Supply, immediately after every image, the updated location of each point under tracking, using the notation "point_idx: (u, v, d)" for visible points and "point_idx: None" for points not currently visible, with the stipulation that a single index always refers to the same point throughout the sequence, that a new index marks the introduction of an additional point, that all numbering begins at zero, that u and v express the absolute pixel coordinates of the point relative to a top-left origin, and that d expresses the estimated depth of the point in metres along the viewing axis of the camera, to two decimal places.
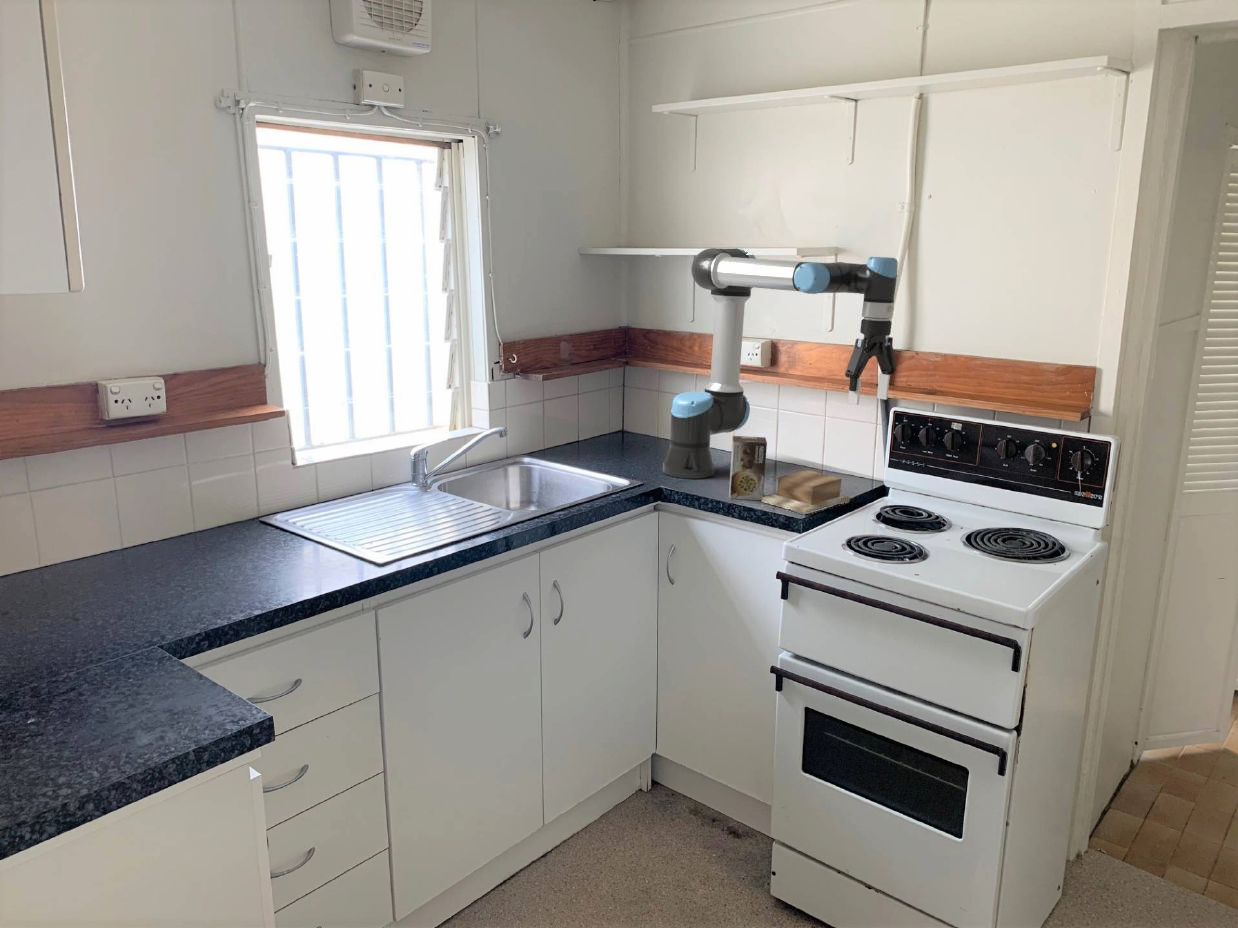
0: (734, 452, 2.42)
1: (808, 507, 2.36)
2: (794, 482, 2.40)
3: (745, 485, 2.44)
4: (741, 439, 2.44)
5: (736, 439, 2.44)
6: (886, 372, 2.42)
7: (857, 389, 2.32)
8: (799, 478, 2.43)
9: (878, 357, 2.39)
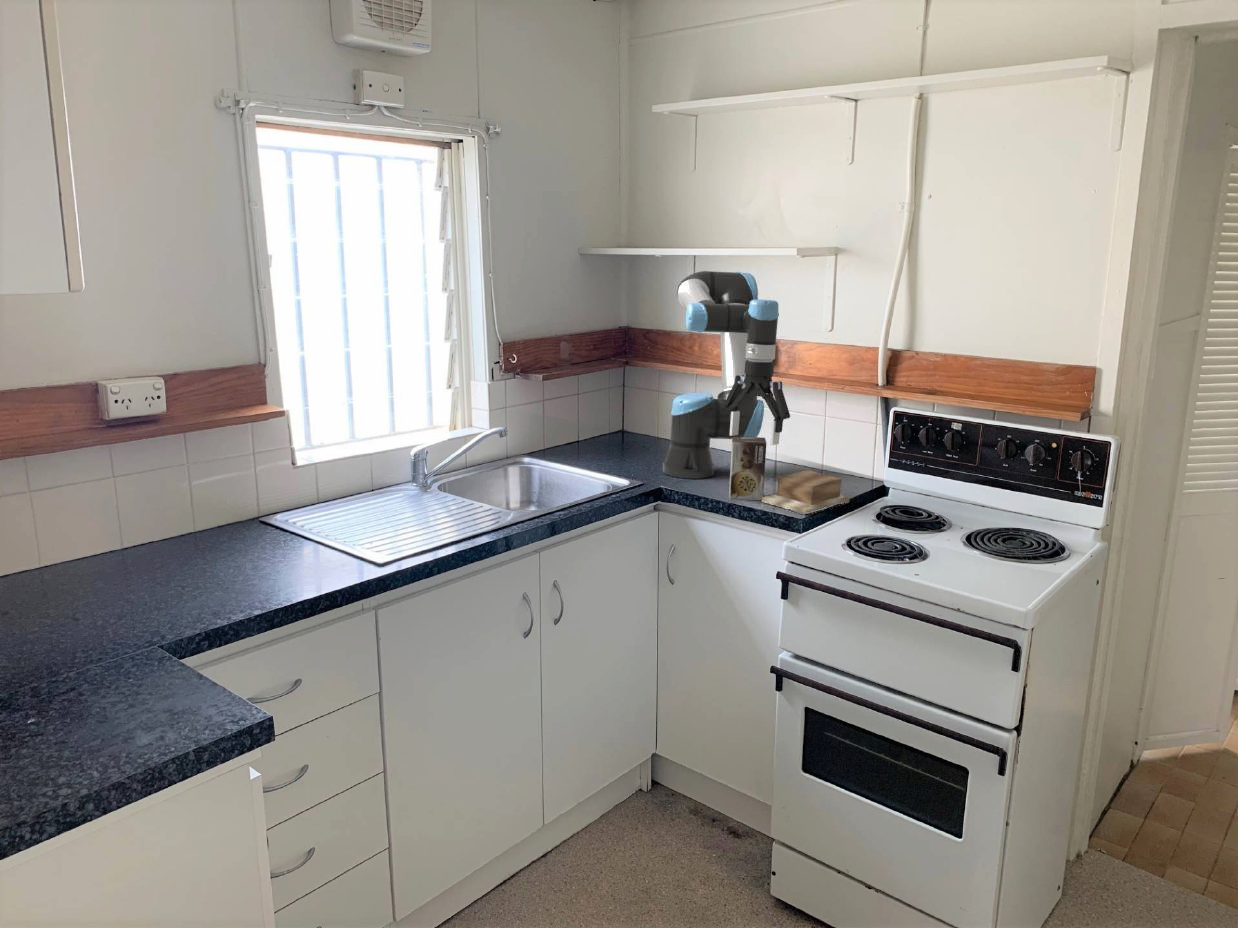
0: (734, 452, 2.43)
1: (808, 507, 2.36)
2: (794, 482, 2.40)
3: (745, 486, 2.44)
4: (741, 439, 2.44)
5: (736, 439, 2.44)
6: None
7: None
8: (799, 478, 2.43)
9: None
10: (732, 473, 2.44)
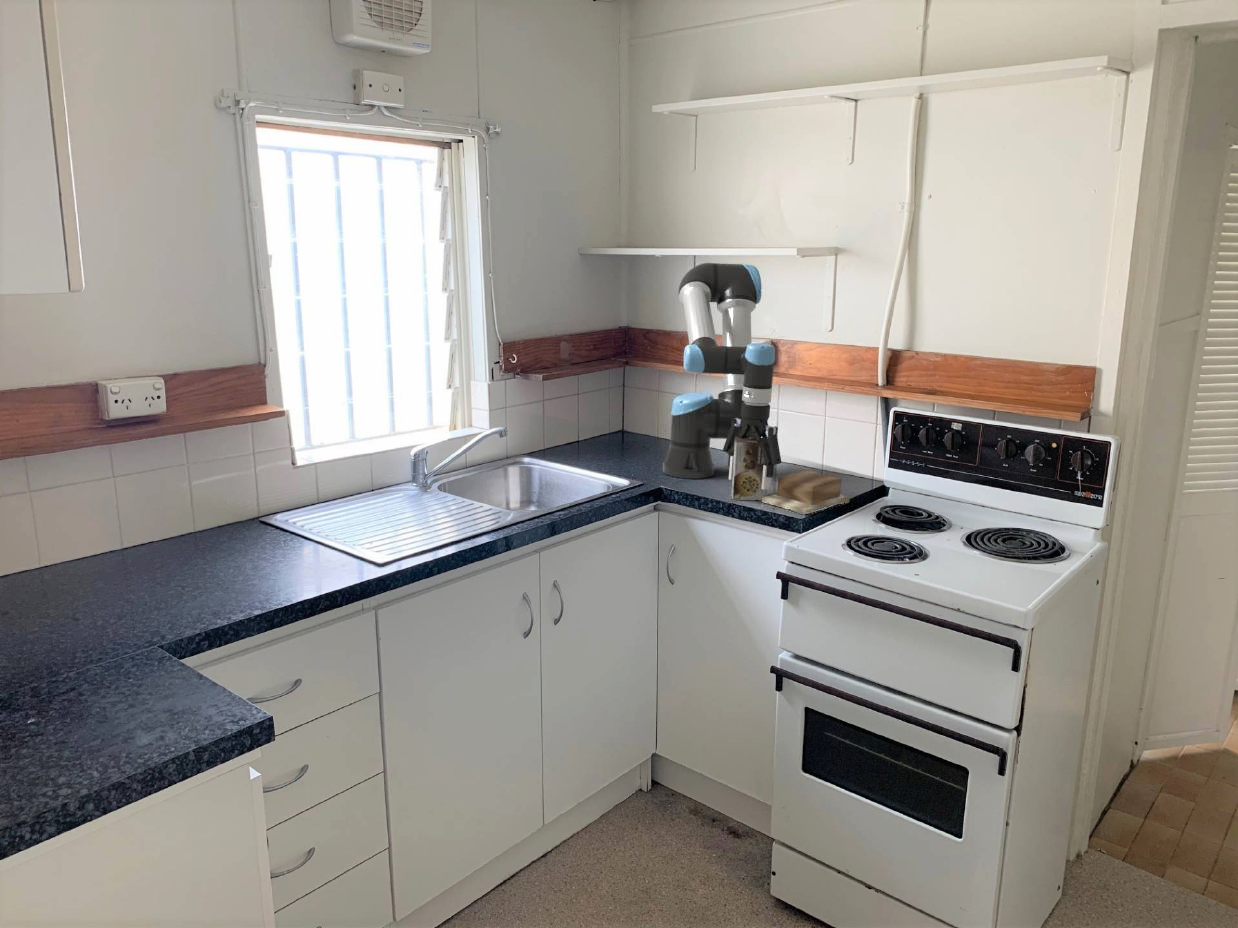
0: (737, 453, 2.42)
1: (808, 507, 2.36)
2: (794, 482, 2.40)
3: (748, 486, 2.44)
4: (744, 440, 2.43)
5: (739, 440, 2.43)
6: None
7: None
8: (799, 478, 2.43)
9: None
10: (735, 473, 2.43)
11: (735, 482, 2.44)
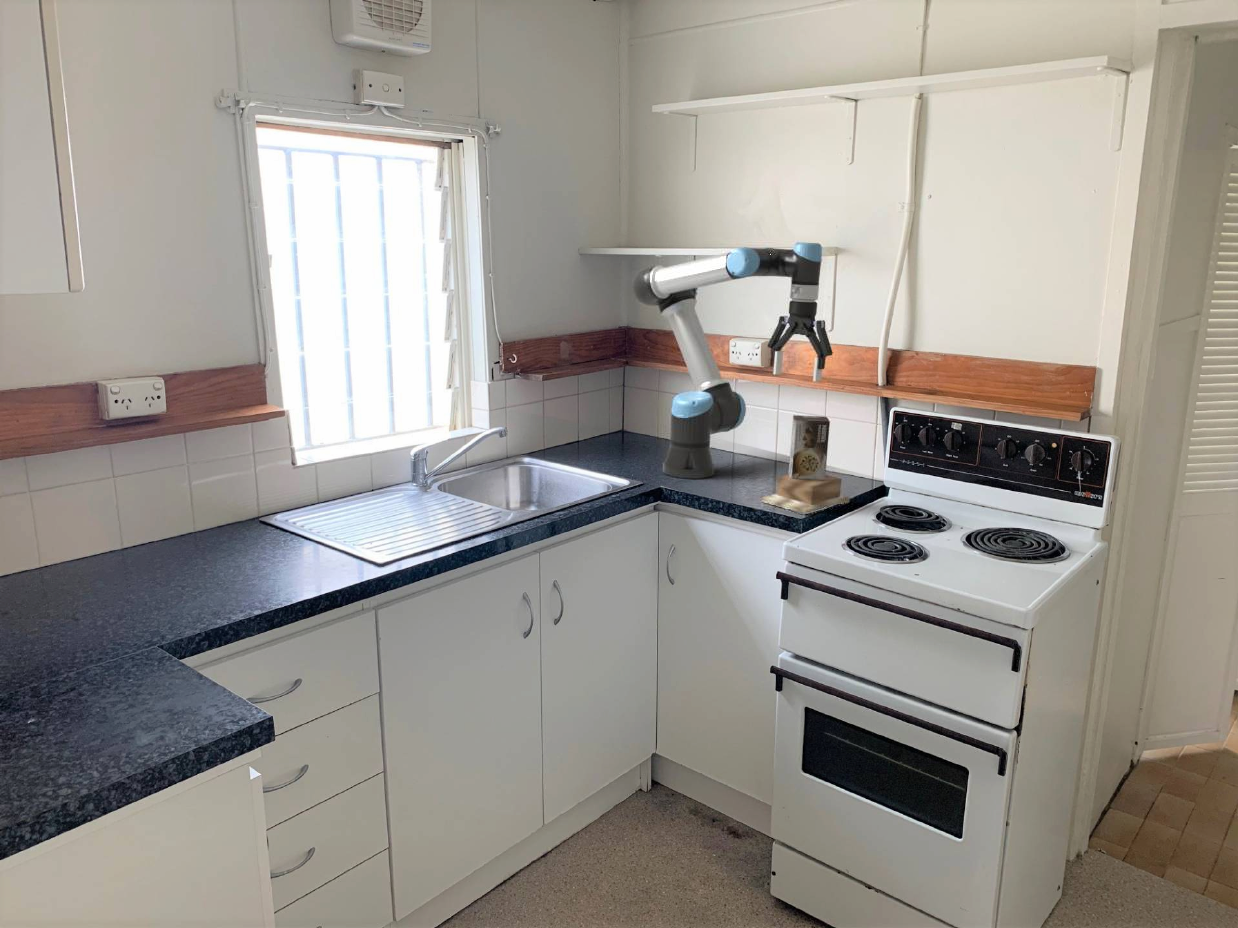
0: (796, 431, 2.39)
1: (808, 507, 2.36)
2: (794, 482, 2.40)
3: (807, 465, 2.41)
4: (803, 418, 2.40)
5: (798, 418, 2.40)
6: None
7: None
8: None
9: None
10: (794, 452, 2.41)
11: (794, 461, 2.41)
